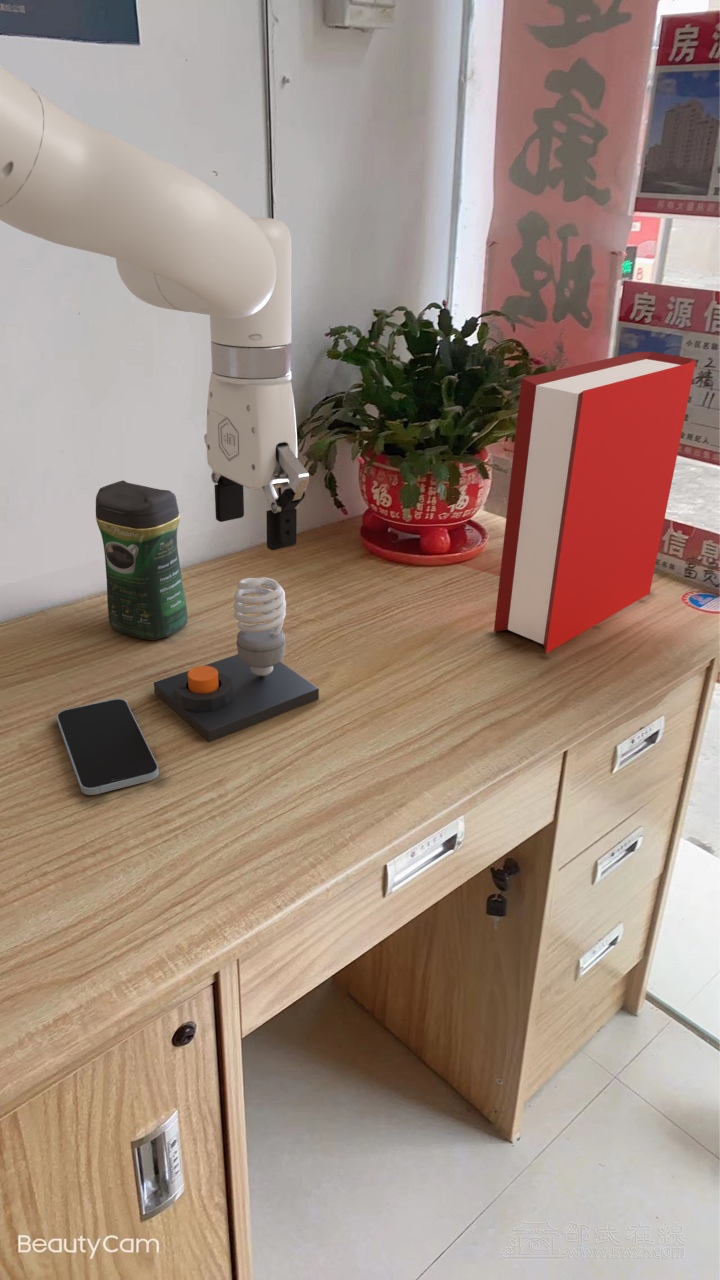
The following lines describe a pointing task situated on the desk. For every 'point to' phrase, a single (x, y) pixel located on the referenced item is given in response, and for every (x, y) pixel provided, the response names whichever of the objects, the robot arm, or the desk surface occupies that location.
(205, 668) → the button
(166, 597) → the coffee jar
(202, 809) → the desk surface
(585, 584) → the book
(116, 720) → the smartphone
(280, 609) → the light bulb
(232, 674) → the black button base
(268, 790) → the desk surface
